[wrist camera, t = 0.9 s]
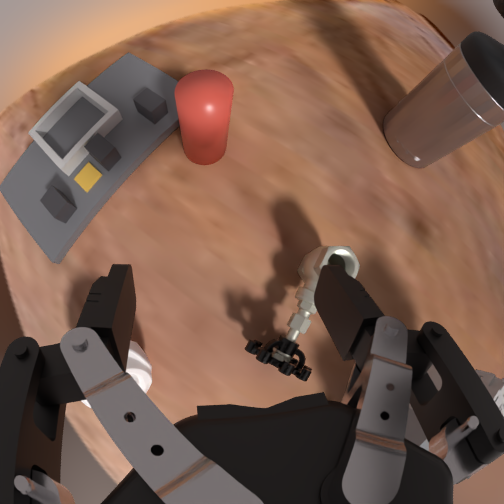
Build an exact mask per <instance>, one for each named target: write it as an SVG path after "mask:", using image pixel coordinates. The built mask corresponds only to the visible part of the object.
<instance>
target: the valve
mask: <svg viewBox="0 0 504 504" xmlns="http://www.w3.org/2000/svg"><path fill="white" fill-rule="evenodd" d="M324 265H341V266H342V267H343V268H344V270H345V271H346V272H347V274H348V275H349V276H352V277H353V278H354V279H355V278H356V275H357V273H358V270H359V267H360V264H359V262H358V260H357V258H356V256H355V254H354V252H353V251H352V249H351V248H350V247H349V246H321V247H318V248H316V249H314V250H313V251H312V252H310V253H308V254H305V256H304V258H303V260H302V262H301V264H300V266H299V268H298V270H297V272H298V274H299V275H300V277H301V279H302V280H303V282H304V284H305V285H304V287H299V289H298V291H297V293H296V294H295V298H297V299H298V300H299V302H298V304H297V306H298V307H299V310H298V312H297V314H296V313H293V314H292V316H291V317H290V319H289V321H288V323H287V326H289V327H291V328H290V329H289V331H288V333H287V335H286V337H284V336H282V335H280V337H279V339H273V340H271V341H269V342H268V343H267V344H266V345H265V347H261V345H262V343H261V342H259V341H257V340H254V341H252V340H249V341H248V343H247V345H246V347H245V350H246V351H247V352H249V353H251V354H254V355H257V356H256V359H257V360H258V361H260V362H262V363H264V364H268V363H269V364H271V365H273V366H275V367H277V368H278V371H279V372H281V373H283V374H285V375H287V376H290V375H291V374H294V375H295V376H296V377H297V378H299V379H300V380H303V381H307V379H308V378H309V376H310V374H311V370H312V369H311V368H310V367H308V366H306V365H304V364H305V360H306V358H305V355H304V353H303V352H302V351H301V350H299V349H298V347H299V344H298V343H296V342H295V341H296V339H297V338H298V336H299V334H300V332H301V333H303V334H305V333H306V331H307V329H308V327H309V325H310V323H311V321H310V320H308V318H309V316H310V315H311V314H315V313H316V311H317V309H316V307H315V304H314V293H315V289H316V286H317V282H318V279H319V275H320V272H321V269H322V267H323V266H324ZM294 354H296V355H297V356H298V357H299V361H298V360H297V359H295V358H293V356H294ZM297 363H298V364H297ZM303 366H304V367H303ZM302 368H303V369H302Z"/></svg>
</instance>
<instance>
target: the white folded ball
mask: <svg viewBox="0 0 504 504" xmlns="http://www.w3.org/2000/svg"><path fill="white" fill-rule="evenodd" d="M151 370H152V366H151V364H150V361H149V359H148V357H147V355H146V354H145V352H144V351H143V350H142V348H141V347H140V346H139V345H138V344H137V343H136V342H134V341H132V340H130V346H129V353H128V360H127V367H126V372H127V373H129V374H130V375H131V376H132V377H133V379H134V380H135V381H136V383H137V384H138V385H139V386H140V388H141V389H142V390H143V391H144V392H145V394H146V392H147V391H148V389H149V387H150V385H151V383H152V375H151ZM81 401H82V402H83V403H84V404H85V405H87V406H88V407H90V408H91V406H90V404H89V403H88V401H87V399H86V400H81Z"/></svg>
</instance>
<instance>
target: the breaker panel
mask: <svg viewBox="0 0 504 504" xmlns="http://www.w3.org/2000/svg"><path fill="white" fill-rule="evenodd" d="M178 82H179V81H177V80H175V79H174V78H172V77H170V76H169V75H167V74H165V73H164V72H162V71H160V70H159V69H157V68H155V67H154V66H152V65H150V64H148V63H147V62H145V61H143V60H141V59H140V58H138V57H136V56H134V55H132V54H131V53H129V52H128V53H127V54H125V55H124V56H123V57H121V58H120V59H119V60H118V61H116V62H115V63H114V64H112V65H111V66H110V67H109V68H107V69H106V70H105V71H104V72H102V73H101V74H100V75H99V76H98V77H97V78H95V79H94V80H93V81H92V82H91V83H90V84H88V85H87V86H86V85H84V84H83V83H81V82H80V81H78V82H77V83H76V84H75V85H74V86H73V87H71V88H70V89H69V90H68V91H67V92H66V93H65V94H64V95H63V96H62V97H61V98H60V99H59V100H58V101H57V102H56V103H55V104H54V105H53V106H52V107H51V108H50V109H49V110H48V111H47V112H46V113H45V114H44V116H43V117H42V118H41V119H40V120H39V121H38V122H37V123H36V124H35V126H34V127H33V128H32V129H31V130H30V131H29V132H28V133H29V134H30V136H31V137H32V138H33V139H34V141H33V142H32V143H31V145H30V146H29V147H28V148H27V150H26V151H25V152H24V153H23V155H22V156H21V157H20V159H19V160H18V161H17V163H16V164H15V165H14V167H13V168H12V169H11V171H10V172H9V173H8V175H7V176H6V178H5V179H4V181H3V182H2V184H1V185H0V191H1V193H2V194H3V196H4V198H5V199H6V201H7V202H8V204H9V205H10V207H11V208H12V210H13V211H14V213H15V214H16V216H17V217H18V218H19V220H20V221H21V223H22V224H23V225H24V227H25V228H26V229H27V231H28V232H29V234H30V235H31V236H32V237H33V239H34V240H35V241H36V243H37V244H38V245H39V247H40V248H41V249H42V250H43V252H44V253H45V254H46V255H47V256H48V258H49V259H50V260H51V261H52V263H57V264H59V263H60V262H61V261H62V259H63V258H64V256H65V255H66V253H67V252H68V251H69V249H70V248H71V247H72V245H73V244H74V242H75V241H76V240H77V238H78V237H79V236H80V234H81V233H82V232H83V230H84V229H85V228H86V227H87V225H88V224H89V223H90V221H91V220H92V219H93V218H94V216H95V215H96V214H97V213H98V212H99V210H100V209H101V208H102V207H103V205H104V204H105V203H106V202H107V201H108V200H109V198H110V197H111V196H112V195H113V194H114V193H115V191H116V190H117V189H118V188H119V187H120V186H121V185H122V184H123V182H124V181H125V180H126V179H127V178H128V177H129V176H130V175H131V174H132V173H133V171H134V170H135V169H136V168H137V167H138V166H139V165H140V164H141V163H142V162H143V161H144V160H145V159H146V158H147V157H148V156H149V155H150V154H151V153H152V152H153V151H154V150H155V149H156V148H157V147H158V146H159V145H160V144H161V143H162V142H163V141H164V140H165V139H166V138H167V137H168V136H169V135H170V134H171V133H172V132H173V131H175V130H176V129H177V128H178V127H179V126H180V124H179V118H178V112H177V106H176V100H175V87H176V85H177V83H178Z"/></svg>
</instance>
